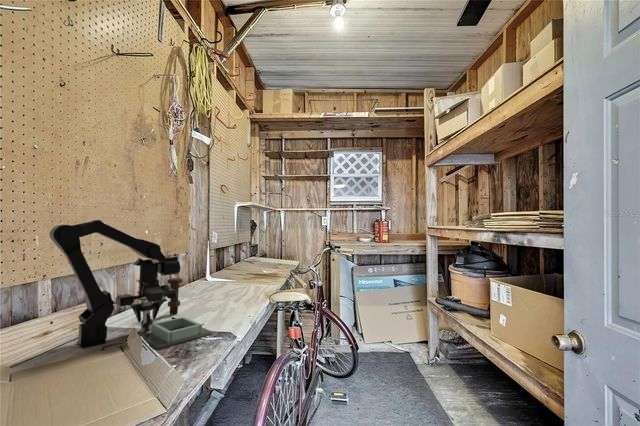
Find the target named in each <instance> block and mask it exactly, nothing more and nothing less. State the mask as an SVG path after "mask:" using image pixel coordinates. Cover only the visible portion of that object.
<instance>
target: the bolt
mask: <svg viewBox="0 0 640 426" xmlns="http://www.w3.org/2000/svg"><path fill="white" fill-rule="evenodd" d="M182 283H183V279H182V278H179V277H178V278H177V277H174V278H172V277H171V278H169V279H167V284H170V285H169V288H171V289H174V290H176V292H177V297H176V298H170V299H169V301H168V302H167V307H168V308H169V315H171V316H175V315H177V314H178V313H179V311H178V310H179V307H180V305H181V301H180V300H179V289H180V284H182Z"/></svg>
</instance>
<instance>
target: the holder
mask: <svg viewBox="0 0 640 426" xmlns="http://www.w3.org/2000/svg"><path fill="white" fill-rule="evenodd" d="M178 327H184V328H182V329H177V330H173V331H169V329H174V328H178ZM202 327H203V324H202V323H199V322H197V321H195V320H192V319H190V318H188V317H186V316H182V317H177V318H176V317H175V318H172V319H168V320H163V321H158V322H153V324H151V330H150V333H152V334H154V335H156V336H158V337H159V338H161V339H163V340H164V341H166V342H168V343H169V342H172V341H176V340H180V339H183V338H187V337H191V336H195V335H198V334H202Z"/></svg>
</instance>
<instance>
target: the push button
mask: <svg viewBox="0 0 640 426" xmlns="http://www.w3.org/2000/svg"><path fill="white" fill-rule="evenodd" d="M140 304H142V305H141V313H142V319H141V325H140V333H148V332H149V331H151V324H153V323H154V321H153V320H152V319H153V318H151V311H153V309H154V305H155V303H153V302H149V301H148V300H144V301H142V302H141V301H140Z"/></svg>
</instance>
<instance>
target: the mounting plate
mask: <svg viewBox="0 0 640 426" xmlns="http://www.w3.org/2000/svg"><path fill="white" fill-rule="evenodd" d="M182 328H184V327H178V328H174V329H169V331H173V330H177V329H182ZM210 335H212V330H209V329H207V328H204V327H203V326H202V334H198V335H195V336H191V337H187V338H183V339H180V340H176V341H172V342H169V343H168V342H166V341H164V340H163V339H161V338H159V337H158V336H156V335H154V334H152V333H151V332H145V333H143V334H139V337H140V336H142V337H143V339H144V340H145V341H147V342H146V343H147V344H148V345H150V346H152V347H153V348H155V349H156V350H160V349H162V348H167V347H169V346H174V345H177V344H181V343H184V342H189V341H191V340H196V339H199V338H203V337H206V336H210ZM144 340H143V341H144ZM145 341H144V342H145Z"/></svg>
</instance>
